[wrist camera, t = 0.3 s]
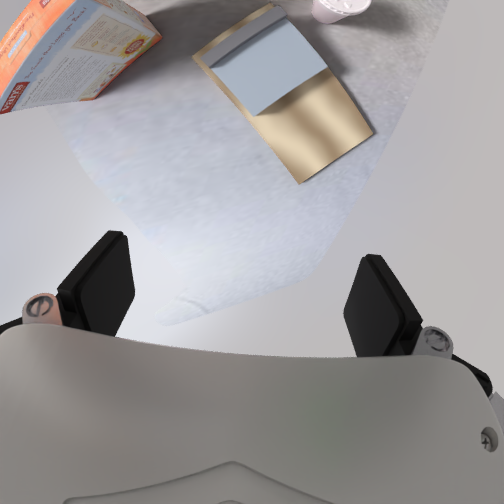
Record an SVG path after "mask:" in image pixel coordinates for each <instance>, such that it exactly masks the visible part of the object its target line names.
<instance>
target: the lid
mask: <svg viewBox="0 0 504 504" xmlns="http://www.w3.org/2000/svg"><path fill="white" fill-rule="evenodd" d="M286 17H287V13H286V12H285V11H284V10H283V9H282V8H281V7H280V6H279V5H278V6H276V7H274V8H272V9H271V10H269V11H267V12H265V13H264V14H262V15H260V16H259V17H257V18H256V19H254V20H252V21H251V22H249V23H248V24H246V25H245V26H243V27H242V28H240V29H239V30H237V31H236V32H234V33H233V34H231V35H230V36H228V37H227V38H226V39H224V40H223V41H221V42H220V43H219V44H217V45H216V46H215V47H213V48H212V49H211V50H209V51H208V52H207V53H205V54H204V55H203V56H202V57H200V59H201V60H202V61H203V62H204V63H205V64H206V65H207V66H208V67H209V68H210V69H211V70H212V71H213V72H214V73H215V74H216V75H217V76H218V77H219V78H220V80H221V81H222V82H223V83H224V84H225V85H226V86H227V87H228V88H229V90H230V91H231V92H232V93H233V94H234V95H235V96H236V97H237V99H238V100H239V101H240V102H241V103H242V104H243V106H244V107H245V108H246V109H247V110H248V111H249V113H250V114H251V115H252V116H253V117H254V116H256V115H257V114H258V113H260V112H261V111H262V110H264V109H265V108H267V107H268V106H269V105H271V104H272V103H274V102H275V101H276V100H278V99H279V98H281V97H282V96H284V95H285V94H286V93H288V92H289V91H291V90H292V89H294V88H295V87H297V86H298V85H300V84H301V83H303V82H304V81H306V80H308V79H309V78H311V77H312V76H314V75H315V74H317V73H319V72H320V71H322V70H323V69H325V68H327V67H328V66H327V65H326V63H325V62H324V61H323V59H322V58H321V57H320V56H319V54H318V53H317V52H316V51H315V50H314V48H313V47H312V46H311V45H310V44H309V42H308V41H307V40H306V39H305V38H304V37H303V36H302V34H301V33H300V32H299V31H298V30H297V29H296V28H295V27H294V26H293V24H292V23H291V22H290V21H289V20H288V19H287V18H286Z"/></svg>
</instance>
